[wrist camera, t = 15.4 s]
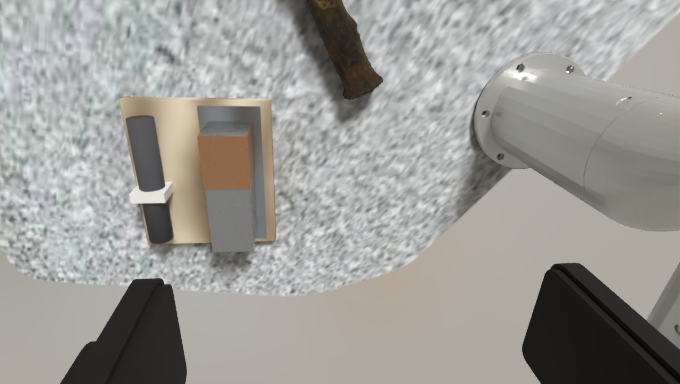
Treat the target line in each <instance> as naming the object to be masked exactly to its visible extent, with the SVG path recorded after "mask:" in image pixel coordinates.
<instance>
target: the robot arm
mask: <svg viewBox="0 0 680 384" xmlns="http://www.w3.org/2000/svg"><path fill="white" fill-rule="evenodd" d="M517 66H518V68H517ZM516 68H517V69H516ZM483 111H484V113H483V114H482V112H483ZM474 129H475V136H476V138H477V141H478V144H479V146H480V147H481V149H482V150H483V152H484V153H485V154H486V155H487V156H488V157H489V158H490V159H492V160H493V161H495V162H496V163H498V164H500V165H502V166H505V167H509V168H514V169H526V168H532V169H534V170H535V171H537V172H538V173H540V174H542V175H543V176H545V177H546V178H548V179H549V180H551V181H553V182H554V183H556V184H557V185H559V186H560V187H562V188H564V189H565V190H566V191H568V192H570V193H571V194H573V195H574V196H576V197H577V198H579V199H580V200H582V201H584V202H585V203H587V204H589V205H590V206H591V207H593V208H594V209H596V210H598V211H599V212H601V213H603V214H604V215H606V216H607V217H609V218H610V219H612V220H614V221H616V222H618V223H620V224H622V225H625V226H628V227H631V228H635V229H640V230H645V231H679V230H680V97H679V96H673V95H669V94H664V93H659V92H654V91H650V90H645V89H640V88H635V87H631V86H626V85H622V84H617V83H612V82H608V81H603V80H598V79H593V78H589V77H586V76H585V74H584V72H583V71H582V69H581V68H580V67H579V66H578V65H577V64H576V63H575V62H574V61H572V60H571V59H570V58H568V57H565V56H563V55H560V54H555V53H548V52H537V53H532V54H527V55H524V56H522V57H519V58H516V59H515V60H513V61H511V62H510V63H508V64H506V65H505V66H504V67H503V68H501V69H500V70H499V71H498V72H497V73H496V74H495V75H494V76H493V77H492V78H491V80H490V81H489V82H488V83H487V85H486V87H485V88H484V90H483V91H482V93H481V96H480V98H479V100H478V103H477V106H476V111H475V115H474ZM522 352H523V356H524V359H525V360H526V362H527V364H528V365H529V367H530V368H531V370H532V371H533V373H534V374H535V376H536V377H537V379H538V380H539V381H540V383H541V384H680V263H679V264H678V266H677V268H676V270H675V271H674V273H673V275H672V277H671V278H670V280H669V282H668V284H667V285H666V287H665V289H664V290H663V292H662V294H661V296H660V297H659V299H658V301H657V303H656V304H655V306H654V308H653V309H652V312H651V313H650V315H649V316H648V318H647V320H645V319H644V318H643V317H642V316H640V315H639V314H638V313H637V312H636V311H635V310H633V309H632V308H631V307H630V306H629V305H628V304H627V303H625V302H624V301H623V300H622V299H621V298H620V297H619V296H617V295H616V294H615V293H614V292H613V291H611V290H610V289H609V288H608V287H607V286H606V285H605V284H603V283H602V282H601V281H600V280H599V279H597V277H595V276H594V275H593V274H592V273H591V272H590V271H588V270H587V269H586V268H585V267H584V266H582V265H581V264H579V263H562V264H554V265H553V266H552V267H551V269H550V270H548V271H547V272H546V273H545V276H544V279H543V282H542V285H541V288H540V291H539V295H538V298H537V301H536V304H535V307H534V310H533V313H532V317H531V320H530V323H529V326H528V329H527V332H526V336H525V339H524V342H523V346H522ZM186 375H187V369H186V362H185V356H184V350H183V345H182V339H181V333H180V328H179V323H178V317H177V311H176V306H175V300H174V294H173V289H172V286H171V285H170V284H166V285H164V281H163V280H162V279H161V278H156V279H135V280H133V281H132V283H131V284H130V286H129V287H128V289H127V291H126V293H125V294H124V296H123V297H122V299H121V301H120V303H119V304H118V306H117V307H116V309H115V311H114V312H113V314H112V316H111V317H110V319H109V321H108V322H107V324H106V326H105V327H104V329H103V331H102V333H101V334H100V336H99V337H98V339H97V341H95V342H89V343H88V344H86V345H85V347H84V348H83V349H82V350H81V352H80V353H79V355H78V356H77V358H76V359H75V361H74V363H73V364H72V366H71V367H70V369H69V371H68V372H67V374H66V375H65V377H64V379H63V380H62V382H61V383H60V384H185V382H186Z"/></svg>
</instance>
